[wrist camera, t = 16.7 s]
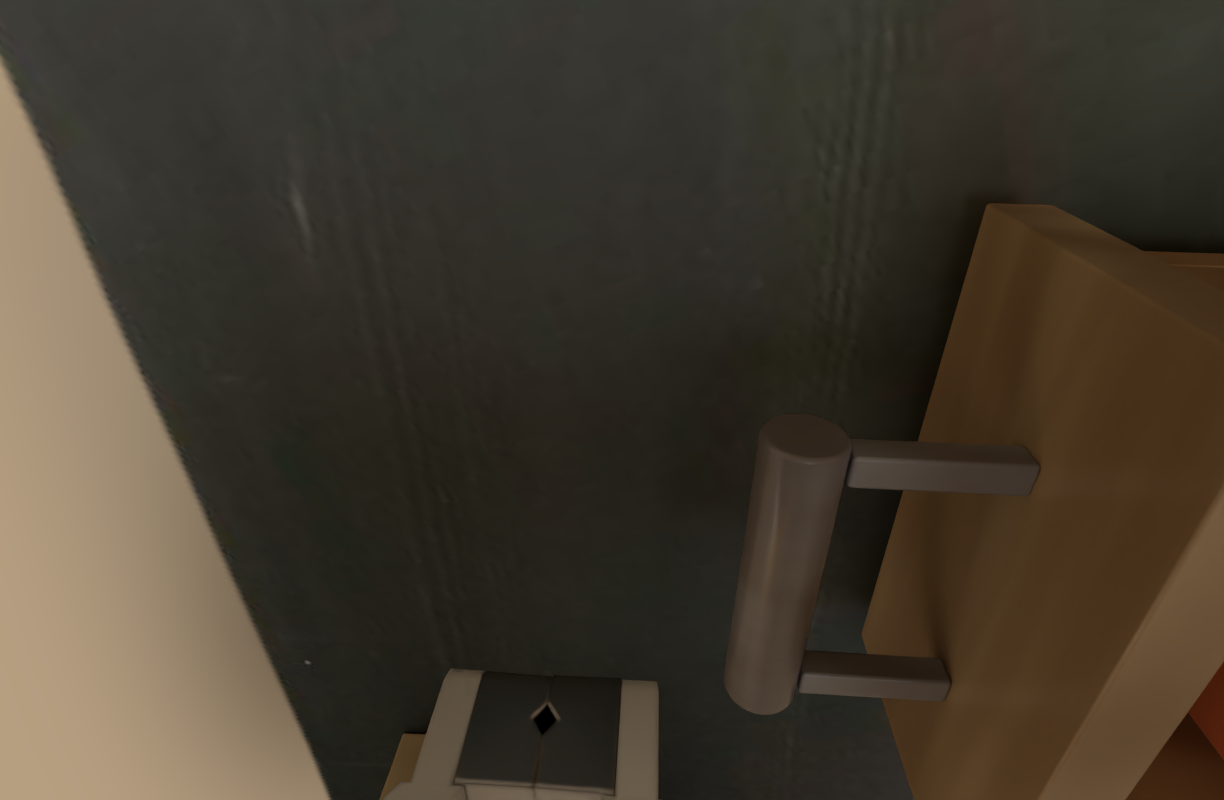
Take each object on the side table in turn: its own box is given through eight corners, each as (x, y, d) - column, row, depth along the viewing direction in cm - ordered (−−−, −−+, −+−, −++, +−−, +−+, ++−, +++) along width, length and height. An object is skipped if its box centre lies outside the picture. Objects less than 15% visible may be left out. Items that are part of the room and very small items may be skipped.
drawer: (702, 624, 18) (722, 919, 12) (751, 195, 12) (833, 365, 7) (1311, 660, 17) (1642, 992, 12) (1667, 221, 12) (2693, 439, 6)
